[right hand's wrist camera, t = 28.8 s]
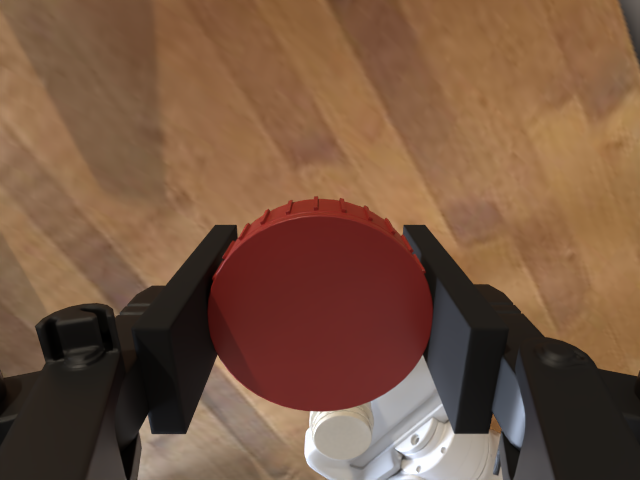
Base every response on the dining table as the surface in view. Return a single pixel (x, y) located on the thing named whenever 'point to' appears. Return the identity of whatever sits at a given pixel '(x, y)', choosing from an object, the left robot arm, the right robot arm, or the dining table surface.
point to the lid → (320, 306)
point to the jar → (343, 431)
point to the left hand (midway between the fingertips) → (330, 361)
